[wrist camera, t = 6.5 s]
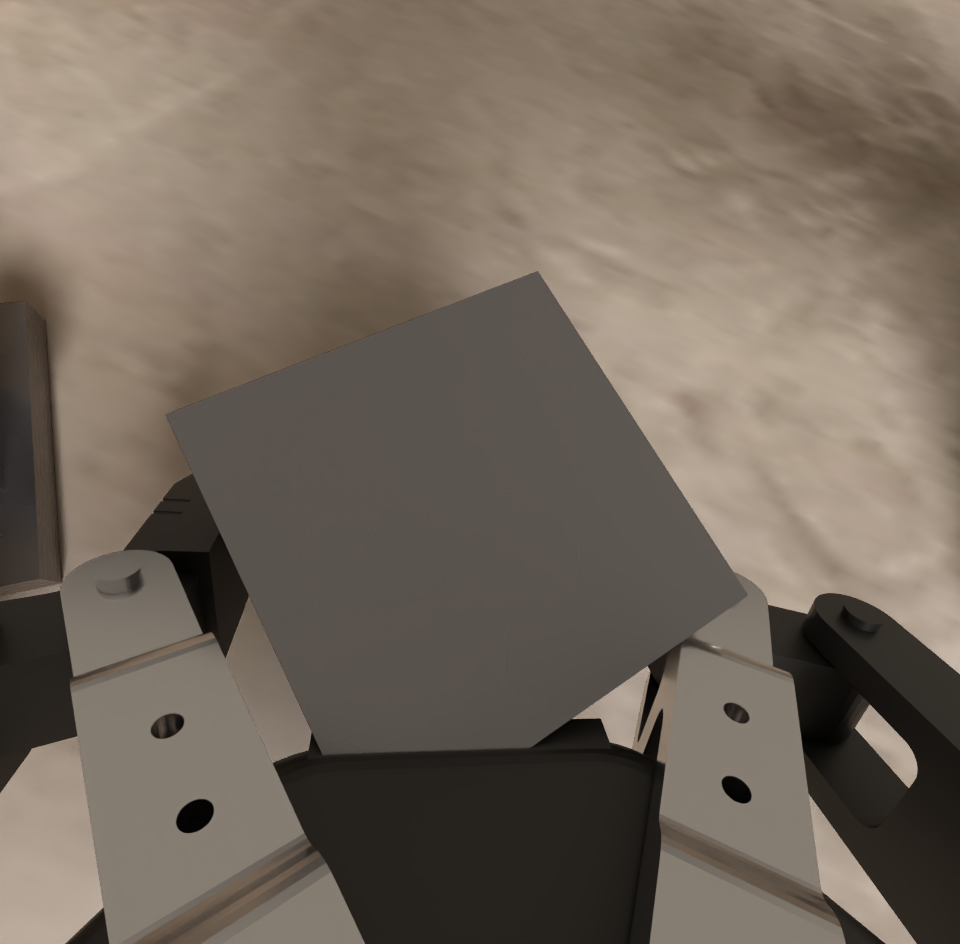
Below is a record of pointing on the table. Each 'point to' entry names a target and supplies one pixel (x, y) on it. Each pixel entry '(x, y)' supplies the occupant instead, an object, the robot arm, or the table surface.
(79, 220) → the table surface
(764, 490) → the table surface
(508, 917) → the robot arm
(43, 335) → the seesaw stand
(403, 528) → the block
